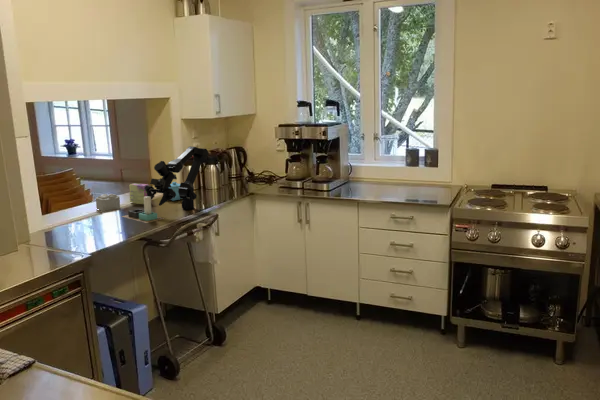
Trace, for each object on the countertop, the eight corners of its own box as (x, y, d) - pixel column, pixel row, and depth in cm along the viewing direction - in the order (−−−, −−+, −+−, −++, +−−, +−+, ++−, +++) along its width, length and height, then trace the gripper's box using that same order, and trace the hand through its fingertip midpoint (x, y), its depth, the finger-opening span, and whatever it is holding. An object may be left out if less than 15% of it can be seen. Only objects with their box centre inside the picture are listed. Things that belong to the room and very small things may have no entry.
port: (139, 219, 276) (138, 213, 275) (149, 216, 281) (149, 211, 280) (147, 221, 272) (146, 215, 271) (157, 218, 277) (157, 213, 276)
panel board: (121, 218, 281) (120, 211, 280) (139, 214, 290) (139, 207, 289) (146, 224, 268) (146, 217, 267) (164, 220, 278) (164, 213, 277)
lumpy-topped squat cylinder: (94, 209, 300) (93, 195, 298) (114, 206, 310) (113, 192, 308) (104, 212, 293) (103, 197, 292) (124, 208, 303) (123, 194, 301)
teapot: (194, 198, 334) (193, 181, 331) (169, 202, 321) (169, 184, 319) (183, 195, 342) (182, 179, 340) (159, 199, 329) (158, 182, 327)
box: (149, 202, 320) (148, 184, 318) (144, 204, 315) (143, 185, 312) (135, 201, 323) (134, 183, 320) (129, 203, 317) (128, 184, 315)
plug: (150, 217, 279) (150, 196, 276) (152, 219, 276) (151, 197, 273) (144, 218, 277) (143, 196, 275) (145, 219, 274) (144, 197, 272)
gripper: (145, 171, 284) (131, 194, 276) (171, 174, 275) (157, 198, 268) (156, 182, 292) (143, 205, 285) (181, 186, 284) (169, 209, 276)
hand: (153, 204), depth 278 cm, fingers open, 9 cm apart
